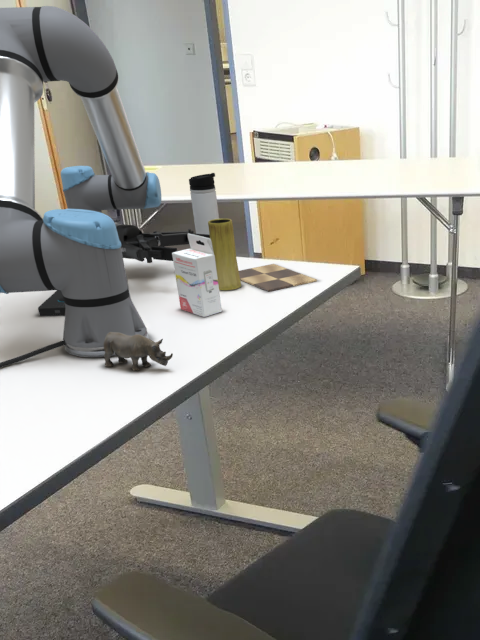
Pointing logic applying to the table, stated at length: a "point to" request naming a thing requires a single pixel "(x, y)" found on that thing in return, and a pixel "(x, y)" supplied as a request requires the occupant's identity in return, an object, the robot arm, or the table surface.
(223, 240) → the vase
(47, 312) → the smart home device
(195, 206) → the travel mug
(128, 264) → the table surface
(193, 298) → the ink cartridge box
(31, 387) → the table surface
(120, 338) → the rhino figurine
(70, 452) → the table surface
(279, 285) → the board
